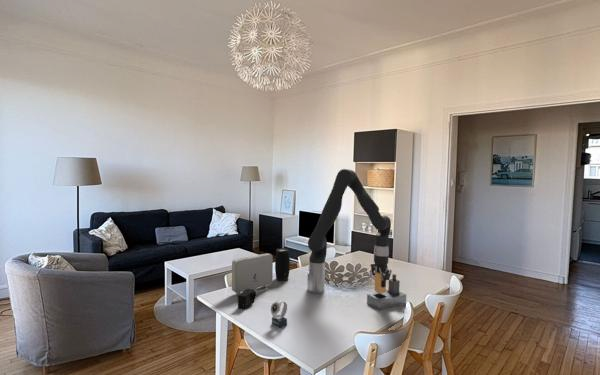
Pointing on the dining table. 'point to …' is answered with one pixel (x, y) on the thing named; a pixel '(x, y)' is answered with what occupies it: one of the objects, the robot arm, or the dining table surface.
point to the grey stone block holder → (385, 300)
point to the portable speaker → (282, 264)
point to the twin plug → (393, 285)
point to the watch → (279, 319)
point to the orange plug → (379, 283)
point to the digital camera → (246, 298)
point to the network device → (252, 273)
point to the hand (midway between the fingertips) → (380, 285)
